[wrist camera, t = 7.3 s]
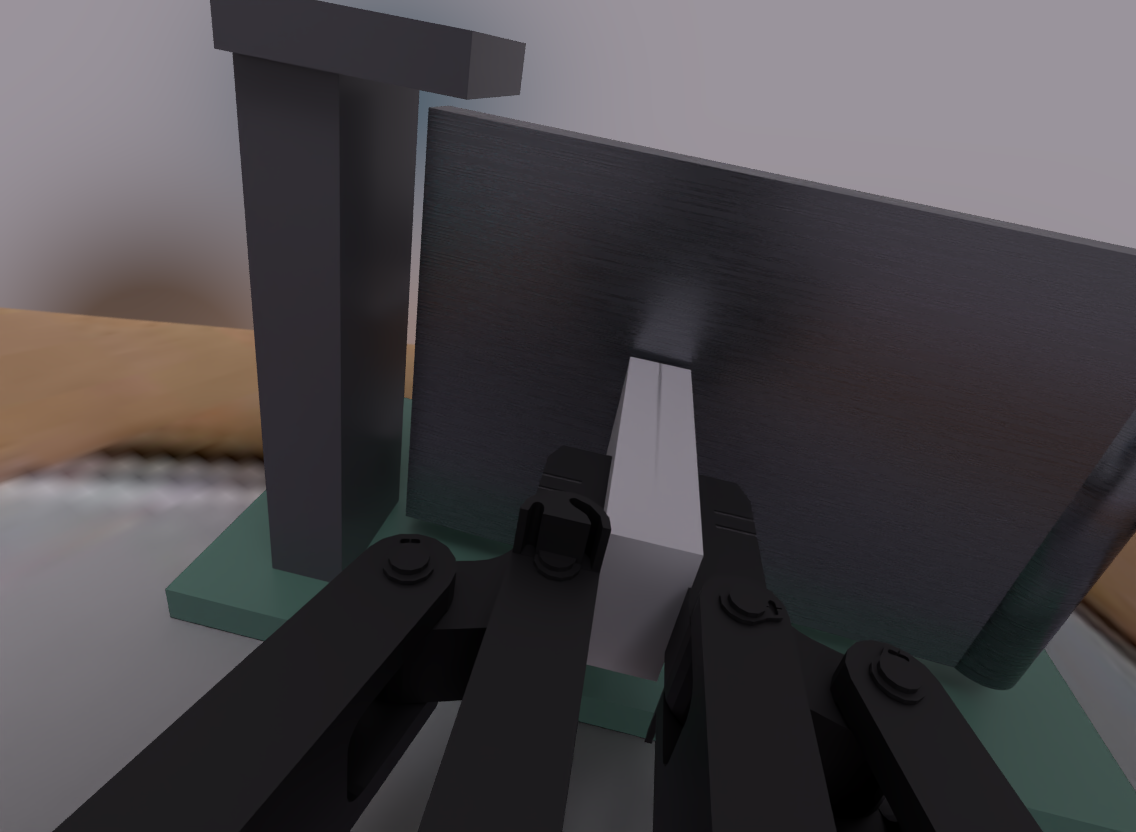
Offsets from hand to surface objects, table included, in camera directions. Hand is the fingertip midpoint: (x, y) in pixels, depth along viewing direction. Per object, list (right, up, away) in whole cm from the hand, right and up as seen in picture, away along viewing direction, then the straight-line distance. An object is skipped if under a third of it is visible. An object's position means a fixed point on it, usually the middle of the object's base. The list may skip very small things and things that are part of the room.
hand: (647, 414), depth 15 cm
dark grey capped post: (-8, -4, +4) cm, 9 cm away
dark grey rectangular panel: (+2, -5, +3) cm, 6 cm away
